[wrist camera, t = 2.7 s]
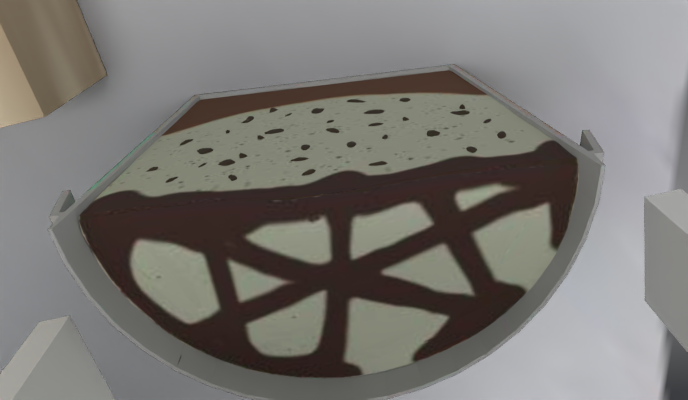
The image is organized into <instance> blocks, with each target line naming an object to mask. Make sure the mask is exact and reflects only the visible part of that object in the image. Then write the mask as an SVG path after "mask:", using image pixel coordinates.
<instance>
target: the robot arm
mask: <svg viewBox="0 0 688 400" xmlns="http://www.w3.org/2000/svg"><path fill="white" fill-rule="evenodd" d="M644 233H645V301H646V302H647V304H648V305H649V306H650V307H651V309H652V310H653V311H654V312H655V313H656V315H657V316H658V317H659V318H660V319H661V321H662V322H663V323H664V324H665V325H666V327H667V328H668V329H669V330H670V331H671V333H672V334H673V335H674V336H675V337H676V339H677V340H678V341H679V342H680V344H681V345H682V346H683V347H684V348H685V350H686V351H687V352H688V194H687V193H685V192H684V191H683V190H682V189H679V190H674V191H669V192H664V193H660V194H655V195H650V196H645V197H644ZM0 400H115V398H114V396H113V395H112V393H111V391H110V389H109V387H108V385H107V383H106V382H105V380H104V378H103V376H102V374H101V372H100V370H99V369H98V367H97V365H96V363H95V361H94V359H93V358H92V356H91V354H90V352H89V350H88V348H87V346H86V345H85V343H84V341H83V339H82V337H81V335H80V333H79V332H78V330H77V328H76V326H75V324H74V322H73V320H72V319H71V317H70V316H65V317H60V318H55V319H50V320H46V321H41V322H39V323H38V324H37V325H36V327H35V328H34V330H33V331H32V332H31V334H30V335H29V336H28V338H27V339H26V340H25V342H24V343H23V344H22V346H21V347H20V348H19V350H18V351H17V352H16V354H15V355H14V356H13V358H12V359H11V360H10V362H9V363H8V364H7V366H6V367H5V368H4V370H3V371H2V372H1V374H0Z"/></svg>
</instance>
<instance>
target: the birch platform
mask: <svg viewBox="0 0 688 400" xmlns="http://www.w3.org/2000/svg"><path fill="white" fill-rule="evenodd" d="M106 75H107V73H106V71H105V68H104V66H103V64H102V61H101V59H100V56H99V54H98V51H97V49H96V47H95V44H94V42H93V39H92V37H91V35H90V32H89V30H88V27H87V25H86V22H85V20H84V18H83V15H82V13H81V10H80V8H79V5H78V3H77V1H76V0H0V128H2V127H6V126H10V125H14V124H18V123H22V122H26V121H30V120H35V119H39V118H43V117H45V116H47V115H48V114H50V113H51V112H53V111H54V110H56V109H57V108H59V107H60V106H62V105H63V104H65V103H66V102H68V101H69V100H71V99H72V98H74V97H75V96H77V95H78V94H80V93H81V92H83V91H84V90H86V89H87V88H89V87H90V86H92V85H93V84H95V83H96V82H98V81H99V80H100V79H102V78H103V77H105V76H106Z"/></svg>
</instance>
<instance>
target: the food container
mask: <svg viewBox="0 0 688 400" xmlns="http://www.w3.org/2000/svg"><path fill="white" fill-rule="evenodd" d="M603 157H604V151H603V150H602V148H601V147H600V145H599V144H598V142H597V141H596V139H595V138H594V136H593V135H592V133H591V132H590V130H582V136H581V142H580V145H578V144H577V143H575V142H574V141H572V140H570V139H569V138H567V137H566V136H564V135H563V134H561V133H560V132H558V131H557V130H555V129H553V128H552V127H550V126H549V125H547V124H546V123H544V122H543V121H541V120H540V119H538V118H536V117H535V116H533V115H532V114H530V113H529V112H527V111H526V110H524V109H523V108H521V107H519V106H518V105H516V104H515V103H513V102H512V101H510V100H509V99H507V98H506V97H504V96H502V95H501V94H499V93H498V92H496V91H495V90H493V89H492V88H490V87H488V86H487V85H485V84H484V83H482V82H481V81H479V80H478V79H476V78H475V77H473V76H471V75H470V74H468V73H467V72H465V71H464V70H462V69H461V68H459V67H458V66H456V65H454V64H452V65H443V66H435V67H426V68H418V69H410V70H401V71H393V72H385V73H376V74H368V75H359V76H351V77H343V78H334V79H326V80H317V81H309V82H301V83H292V84H284V85H275V86H267V87H259V88H250V89H242V90H233V91H225V92H217V93H208V94H200V95H194V96H193V97H192V98H191V99H190V100H189V101H188V102H187V103H185V104H184V105H183V106H182V107H181V108H180V109H179V110H178V111H177V112H175V113H174V114H173V115H172V116H171V117H170V118H169V119H168V120H166V121H165V122H164V123H163V124H162V125H161V126H160V127H159V128H158V129H156V130H155V131H154V132H153V133H152V134H151V135H150V136H149V137H147V138H146V139H145V140H144V141H143V142H142V143H141V144H140V145H139V146H137V147H136V148H135V149H134V150H133V151H132V152H131V153H130V154H128V155H127V156H126V157H125V158H124V159H123V160H122V161H121V162H119V163H118V164H117V165H116V166H115V167H114V168H113V169H112V170H111V171H109V172H108V173H107V174H106V175H105V176H104V177H103V178H102V179H100V180H99V181H98V182H97V183H96V184H95V185H94V186H93V187H92V188H90V189H89V190H88V191H87V192H86V193H85V194H84V195H83V196H81V197H80V198H79V199H78V200H77V201H76V202H75V200H74V198H73V195H72V193H71V191H70V190H67V191H63V192H62V194H61V195H60V197H59V199H58V201H57V203H56V205H55V206H54V208H53V210H52V212H51V214H50V216H49V218H50V220H51V222H52V225H51V226H50V227H49V229H48V231H49V234H50V236H51V238H52V240H53V242H54V244H55V246H56V248H57V250H58V252H59V254H60V256H61V258H62V260H63V263H64V264H65V266H66V267H67V269H68V270H69V272H70V273H71V275H72V276H73V278H74V279H75V281H76V282H77V284H78V285H79V287H80V288H81V290H82V291H83V293H84V294H85V296H86V297H87V298H88V299H89V300H90V301H91V302H92V304H93V305H94V306H95V307H96V308H97V309H98V310H99V311H100V312H101V313H102V314H103V316H104V317H105V318H106V319H107V320H108V321H109V322H110V323H111V324H112V325H113V326H114V327H115V328H116V329H117V330H119V331H120V332H121V333H122V334H123V335H125V336H126V337H127V338H128V339H129V340H131V341H132V342H133V343H134V344H135V345H137V346H138V347H139V348H140V349H141V350H143V351H144V352H146V353H148V354H149V355H151V356H152V357H154V358H156V359H157V360H159V361H160V362H162V363H164V364H165V365H167V366H168V367H170V368H172V369H173V370H175V371H177V372H179V373H181V374H184V375H186V376H188V377H190V378H192V379H194V380H197V381H199V382H201V383H203V384H205V385H207V386H210V387H213V388H216V389H219V390H223V391H226V392H229V393H232V394H235V395H238V396H241V397H245V398H250V399H255V400H385V399H390V398H394V397H397V396H400V395H404V394H407V393H411V392H414V391H417V390H421V389H424V388H427V387H429V386H431V385H433V384H436V383H438V382H440V381H443V380H445V379H447V378H450V377H452V376H454V375H456V374H459V373H460V372H462V371H464V370H465V369H467V368H469V367H470V366H472V365H474V364H475V363H477V362H479V361H481V360H482V359H484V358H486V357H487V356H489V355H490V354H492V353H493V352H494V351H496V350H497V349H498V348H499V347H501V346H502V345H503V344H505V343H506V342H507V341H508V340H510V339H511V338H512V337H513V336H515V335H516V334H517V333H519V332H520V331H521V330H522V329H523V328H524V327H525V326H526V324H527V323H528V322H529V321H530V320H531V319H532V318H533V317H534V316H535V315H536V314H537V313H538V312H539V311H540V310H541V309H542V308H543V307H544V306H545V305H546V304H547V302H548V301H549V299H550V298H551V297H552V295H553V294H554V293H555V291H556V290H557V289H558V287H559V286H560V284H561V283H562V282H563V280H564V279H565V278H566V276H567V275H568V273H569V271H570V269H571V267H572V266H573V264H574V262H575V260H576V258H577V256H578V254H579V252H580V250H581V248H582V247H583V245H584V243H585V241H586V238H587V235H588V233H589V230H590V227H591V224H592V221H593V218H594V215H595V212H596V209H597V207H598V204H599V200H600V194H601V188H602V183H603V177H604V171H605V166H606V165H605V164H603Z"/></svg>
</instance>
